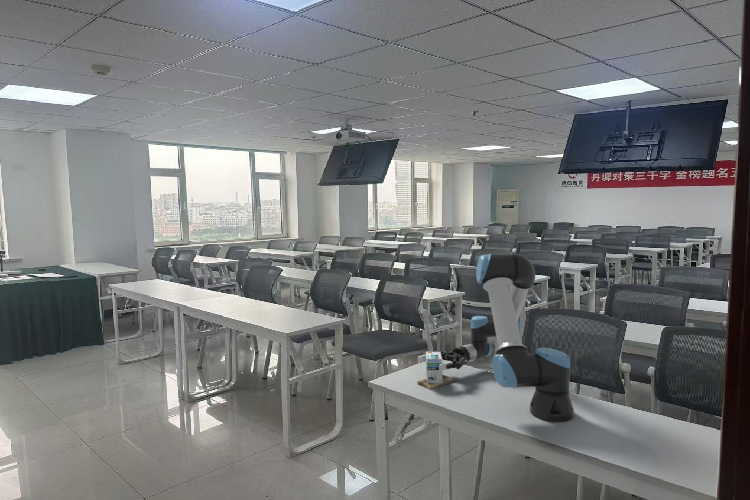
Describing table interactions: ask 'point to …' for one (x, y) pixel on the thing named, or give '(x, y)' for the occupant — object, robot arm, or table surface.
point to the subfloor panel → (431, 385)
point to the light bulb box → (433, 367)
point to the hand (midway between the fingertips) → (428, 363)
